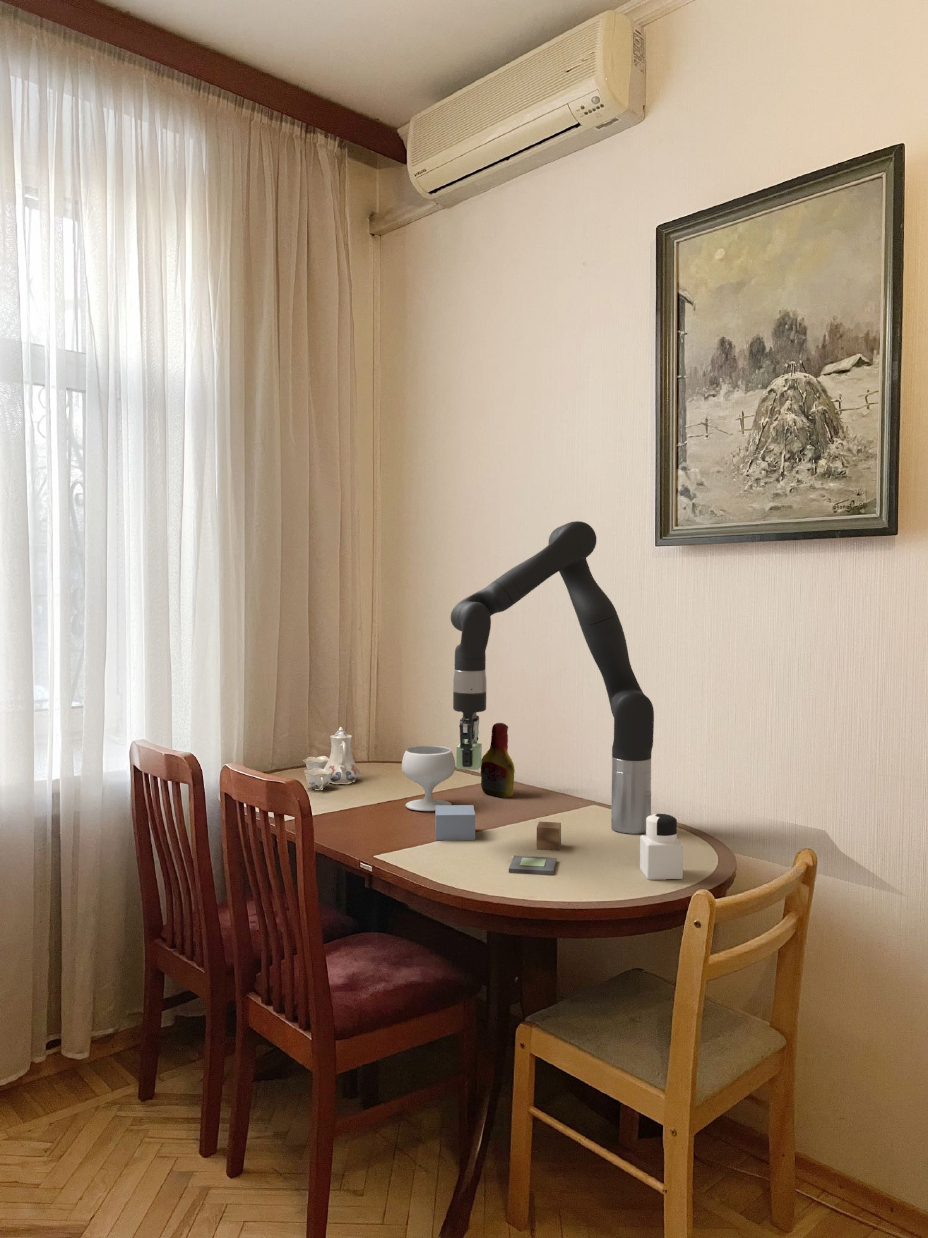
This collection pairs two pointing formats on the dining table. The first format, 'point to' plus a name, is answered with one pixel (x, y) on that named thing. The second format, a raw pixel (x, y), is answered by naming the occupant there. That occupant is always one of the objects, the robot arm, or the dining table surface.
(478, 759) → the sage cube
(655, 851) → the medicine bottle
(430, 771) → the chalice
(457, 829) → the base block
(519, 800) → the dining table surface
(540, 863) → the tile
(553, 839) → the walnut cube
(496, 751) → the bottle
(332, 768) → the chinaware
